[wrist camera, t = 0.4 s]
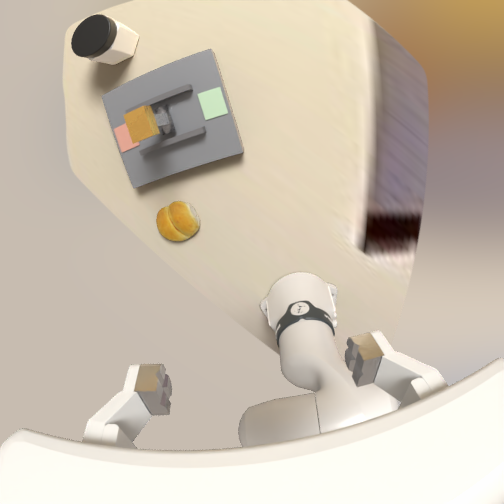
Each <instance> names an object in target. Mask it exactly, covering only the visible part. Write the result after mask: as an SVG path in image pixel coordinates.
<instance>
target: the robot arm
mask: <svg viewBox="0 0 504 504" xmlns="http://www.w3.org/2000/svg"><path fill="white" fill-rule="evenodd" d="M331 294H332V295H331ZM336 298H337V287H336V286H335V285H332V284H329V283H326V282H324V281H323V280H322V279H321V278H319V277H318V276H316V275H314V274H310V273H305V272H299V273H293V274H289V275H286V276H284V277H282V278H281V279H279V280H278V281H277V282H276V283H275V284H274V285H273V286H272V288H271V290H270V292H269V294H268V296H267V297H266V298H265V299H263V300H262V301H261V303H260V308H261V310H262V311H263V313H264V314H265V316H266V317H267V319H268V322H269V326H271V327H272V329H273V330H274V332H275V333H276V340H277V345H278V347H279V349H280V362H281V371H282V373H283V375H284V376H285V378H286V379H287V380H288V381H290V382H291V383H292V384H294V385H295V386H298V387H300V388H304V389H308V390H311V391H314V392H315V393H309V394H304V395H298V396H292V397H286V398H279V399H274V400H271V401H267V402H264V403H261V404H258V405H255V406H252V407H249V408H248V409H247V410H246V411H245V413H244V414H243V416H242V418H241V420H240V423H239V429H238V431H239V432H238V434H239V439H240V442H241V445H242V447H238V448H226V449H212V450H147V449H138V448H137V447H136V446H135V445H134V444H133V443H132V442H133V441H134V439H135V438H136V437H137V435H138V434H139V433H140V431H141V430H142V429H143V428H144V426H145V425H146V423H147V422H148V421H149V420H150V418H151V417H152V416H151V415H169V414H170V405H171V403H170V401H169V397H170V396H171V394H172V386H171V381H170V378H169V376H168V375H167V374H165V371H166V369H165V367H164V365H163V364H131V365H130V366H129V369H128V373H127V377H126V380H125V384H124V388H123V391H120V392H119V393H117V394H116V395H115V396H114V397H113V398H112V399H111V400H110V401H109V402H108V403H107V404H106V405H105V406H103V407H102V409H100V410H99V411H98V412H97V413H96V414H95V415H94V416H93V417H92V418H90V420H88V423H87V426H86V430H85V433H84V437H83V441H82V442H80V441H74V440H70V439H65V438H61V437H56V436H52V435H48V434H44V433H40V432H37V431H33V430H29V429H25V428H22V429H19V430H18V431H16V432H15V433H14V434H13V435H11V436H10V437H9V438H8V439H6V440H5V441H4V442H3V444H2V445H1V448H0V504H504V358H497V359H495V360H494V361H492V362H490V363H489V364H487V365H486V366H484V367H483V368H481V369H479V370H478V371H476V372H474V373H472V374H471V375H469V376H467V377H465V378H464V379H462V380H460V381H458V382H456V383H455V384H452V385H451V386H448V385H447V383H446V382H445V380H444V379H443V378H442V376H441V375H440V373H439V372H438V370H437V369H435V368H433V367H430V366H428V365H426V364H424V363H422V362H419V361H417V360H415V359H413V358H411V357H409V356H406V355H404V354H402V353H400V352H395V351H394V350H393V348H392V347H391V346H390V344H389V343H388V341H387V340H386V338H385V337H384V336H383V334H382V333H381V331H379V330H376V331H372V332H369V333H364V334H361V335H357V336H353V337H349V338H348V340H347V345H348V349H347V350H346V351H345V362H346V363H345V362H344V360H343V359H342V357H341V355H340V353H339V350H338V348H337V345H336V342H335V339H334V335H335V332H334V328H336V327H337V321H336V319H334V318H336V317H337V315H336V312H335V306H336ZM266 308H267V309H266ZM315 395H316V399H315ZM398 401H400V402H401V404H400V406H399V405H398ZM316 402H317V405H316ZM317 409H318V411H317ZM318 416H319V418H318ZM319 423H320V425H319ZM320 430H321V432H320Z"/></svg>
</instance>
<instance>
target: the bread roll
mask: <svg viewBox="0 0 504 504" xmlns="http://www.w3.org/2000/svg"><path fill="white" fill-rule="evenodd" d="M156 222H157V227H158V230H159V232H160V234H161V235H162V236H163V237H165V238H166V239H168V240H171V241H183V240H186V239H188V238H190V237H192V236H193V235H194V234H195V233H196V232H197V231H198V229H199V227H200V219H199V216H198V214H197V212H196V211H195V209H194V208H193V206H192V205H191V204H190V203H186V202H182V201H177V202H173V203H172V204H170V205H169V206H167V207H164V208H162V209H161V210H160V211H159V212H158V215H157V219H156Z"/></svg>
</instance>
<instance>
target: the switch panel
mask: <svg viewBox="0 0 504 504" xmlns="http://www.w3.org/2000/svg"><path fill="white" fill-rule="evenodd" d="M102 99H103V103H104V106H105V109H106V112H107V116H108V119H109V122H110V125H111V128H112V131H113V134H114V137H115V140H116V142H117V145H118V148H119V151H120V154H121V157H122V159H123V162H124V165H125V167H126V170H127V173H128V175H129V178H130V180H131V183H132V186H133V188H137V187H139V186H142V185H144V184H147V183H150V182H153V181H155V180H158V179H161V178H164V177H166V176H169V175H172V174H175V173H178V172H181V171H184V170H187V169H190V168H193V167H196V166H199V165H203V164H206V163H209V162H212V161H216V160H219V159H222V158H226V157H229V156H233V155H236V154H240V153H243V152H244V147H243V144H242V140H241V137H240V134H239V130H238V127H237V124H236V121H235V117H234V114H233V111H232V107H231V104H230V101H229V98H228V95H227V91H226V88H225V85H224V82H223V79H222V75H221V72H220V69H219V66H218V63H217V60H216V57H215V53H214V52H213V51H212V49H208V50H205V51H202V52H199V53H196V54H193V55H191V56H188V57H185V58H182V59H180V60H177V61H174V62H172V63H169V64H167V65H164V66H162V67H160V68H157V69H155V70H153V71H150V72H148V73H146V74H144V75H142V76H139V77H137V78H135V79H133V80H131V81H129V82H127V83H125V84H123V85H121V86H119V87H117V88H115V89H113V90H112V91H110V92H108V93H106V94H104V95H102ZM163 105H168V108H169V111H170V114H171V117H172V120H173V123H174V126H175V129H176V131H173V132H171V133H168V134H165V135H163V134H162V131H161V128H158V129H159V132H160V133H159V134H157V135H154V136H152V137H149V138H147V139H145V140H142V141H140V142H137V143H134V144H133V143H132V140H131V137H130V134H129V131H128V128H127V125H126V122H125V119H124V116H123V115H125V114H127V113H129V112H131V111H133V110H135V109H137V108H140V107H142V106H151V107H152V111H153V114H156V113H155V110H154V109H156V108H158V107H160V106H163Z"/></svg>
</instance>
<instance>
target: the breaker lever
mask: <svg viewBox="0 0 504 504" xmlns="http://www.w3.org/2000/svg"><path fill="white" fill-rule="evenodd" d="M154 110H155V113H156V114H153V111H152V107H151V106H142V107H140V108H137V109H135V110H133V111H131V112H129V113H127V114H125V115H123V116H124V119H125V122H126V125H127V128H128V131H129V134H130V137H131V140H132V143H133V144H134V143H137V142H140V141H142V140H145V139H147V138H149V137H152V136H154V135H157V134H159V133H160V132H159V129H158V128H161V131H162V134H163V135H165V134H168V133H171V132H173V131H176V129H175V126H174V123H173V120H172V117H171V114H170V111H169V108H168V105H163V106H160V107H158V108H156V109H154Z"/></svg>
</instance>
